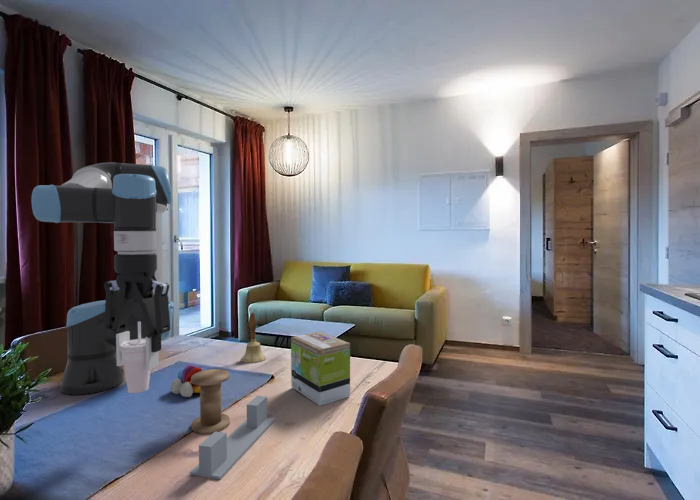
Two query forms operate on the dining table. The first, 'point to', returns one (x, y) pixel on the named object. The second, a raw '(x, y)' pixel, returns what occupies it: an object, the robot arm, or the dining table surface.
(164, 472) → the dining table surface
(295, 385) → the tea box
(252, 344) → the hand bell
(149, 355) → the robot arm
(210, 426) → the bobbin
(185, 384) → the rainbow toy
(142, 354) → the smoothie
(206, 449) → the board with upright blocks
